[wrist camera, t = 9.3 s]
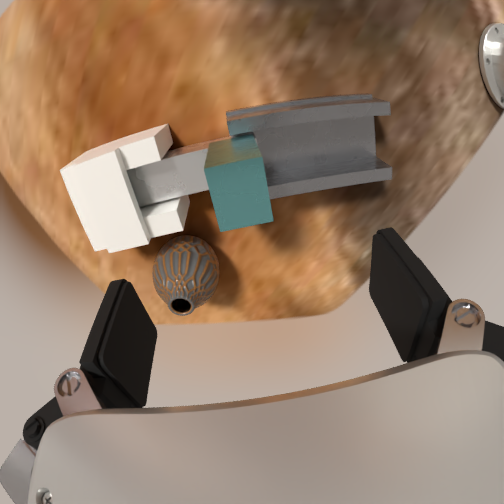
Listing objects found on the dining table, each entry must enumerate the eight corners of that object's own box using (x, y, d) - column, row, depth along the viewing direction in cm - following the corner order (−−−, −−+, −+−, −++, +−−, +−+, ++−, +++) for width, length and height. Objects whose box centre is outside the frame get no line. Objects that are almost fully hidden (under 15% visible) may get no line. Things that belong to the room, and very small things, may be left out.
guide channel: (367, 93, 25) (389, 98, 21) (372, 166, 29) (391, 182, 26) (226, 111, 25) (226, 117, 22) (242, 188, 30) (245, 207, 26)
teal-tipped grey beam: (252, 127, 25) (266, 155, 17) (260, 171, 28) (277, 220, 19) (109, 164, 26) (63, 209, 17) (123, 204, 28) (88, 261, 20)
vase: (152, 230, 32) (133, 280, 24) (214, 221, 32) (212, 272, 24) (167, 279, 35) (156, 334, 28) (223, 273, 35) (224, 328, 28)
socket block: (168, 123, 25) (150, 138, 20) (190, 201, 30) (181, 236, 24) (86, 150, 26) (54, 174, 20) (113, 221, 30) (91, 257, 25)
